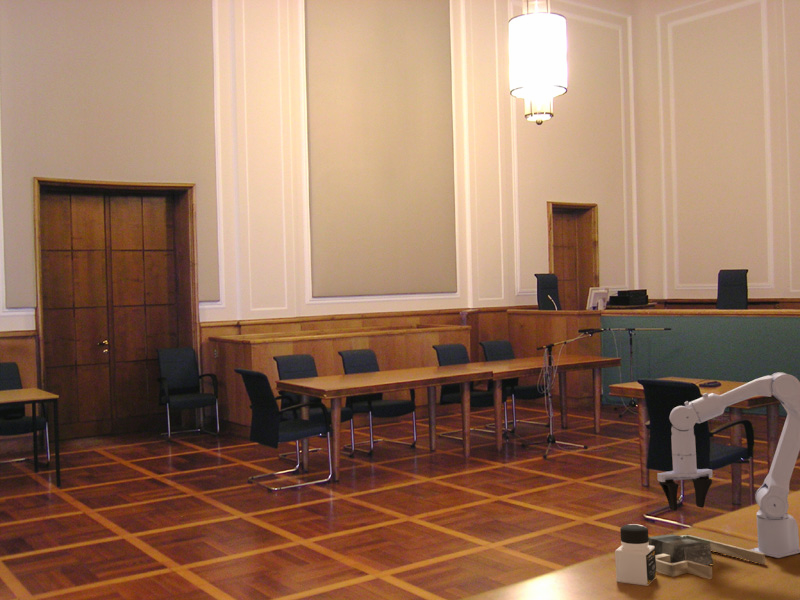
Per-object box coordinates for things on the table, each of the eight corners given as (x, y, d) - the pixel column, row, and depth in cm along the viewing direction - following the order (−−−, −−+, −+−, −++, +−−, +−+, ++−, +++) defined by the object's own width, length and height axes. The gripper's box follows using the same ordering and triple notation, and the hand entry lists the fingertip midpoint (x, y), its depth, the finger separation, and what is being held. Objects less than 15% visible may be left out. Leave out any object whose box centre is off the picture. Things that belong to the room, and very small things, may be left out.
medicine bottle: (648, 586, 179) (645, 531, 180) (616, 582, 183) (613, 528, 183) (656, 577, 185) (654, 523, 186) (625, 573, 189) (623, 521, 189)
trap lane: (687, 544, 212) (687, 534, 212) (765, 564, 192) (764, 553, 192) (618, 559, 200) (617, 549, 200) (693, 583, 180) (692, 571, 180)
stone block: (677, 551, 206) (676, 530, 207) (717, 566, 193) (715, 544, 193) (647, 556, 203) (646, 534, 204) (685, 571, 190) (684, 548, 190)
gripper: (667, 458, 202) (670, 514, 201) (718, 454, 205) (721, 508, 205) (651, 454, 208) (654, 508, 208) (702, 450, 212) (704, 503, 211)
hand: (686, 508), depth 207 cm, fingers open, 7 cm apart
